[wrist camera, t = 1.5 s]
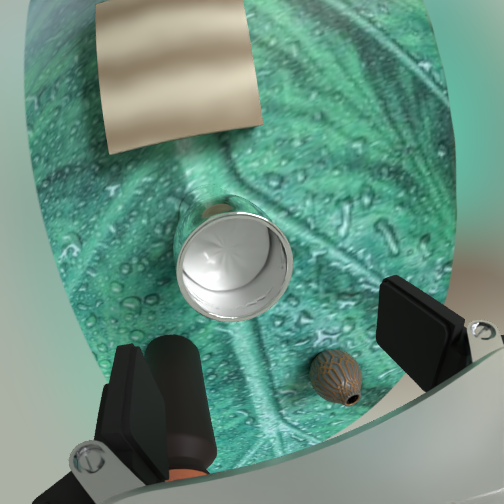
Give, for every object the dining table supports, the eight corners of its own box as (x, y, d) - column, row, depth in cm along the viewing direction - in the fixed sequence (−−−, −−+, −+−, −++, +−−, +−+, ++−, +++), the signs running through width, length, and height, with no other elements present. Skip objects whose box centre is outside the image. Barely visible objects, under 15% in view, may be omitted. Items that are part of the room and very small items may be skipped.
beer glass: (174, 246, 30) (174, 327, 17) (175, 179, 28) (173, 206, 14) (240, 247, 32) (288, 322, 18) (245, 181, 30) (304, 211, 16)
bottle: (144, 372, 34) (143, 513, 16) (146, 329, 33) (139, 483, 14) (195, 377, 36) (221, 514, 18) (203, 336, 35) (236, 485, 16)
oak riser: (101, 15, 20) (95, 4, 17) (233, -6, 22) (239, -19, 20) (116, 154, 26) (109, 154, 23) (255, 127, 28) (263, 124, 26)
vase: (313, 340, 39) (342, 381, 31) (352, 341, 41) (384, 378, 33) (296, 378, 41) (319, 420, 33) (334, 377, 43) (361, 415, 35)
